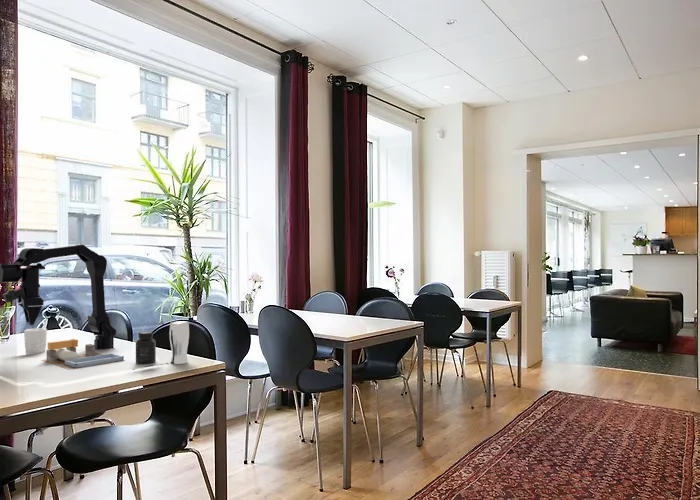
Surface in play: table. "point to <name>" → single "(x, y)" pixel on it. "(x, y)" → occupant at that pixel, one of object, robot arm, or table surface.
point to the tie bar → (62, 344)
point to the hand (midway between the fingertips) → (29, 323)
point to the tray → (93, 360)
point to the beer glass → (179, 341)
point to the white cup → (35, 340)
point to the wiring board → (61, 363)
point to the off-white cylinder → (65, 354)
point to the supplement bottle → (145, 348)
